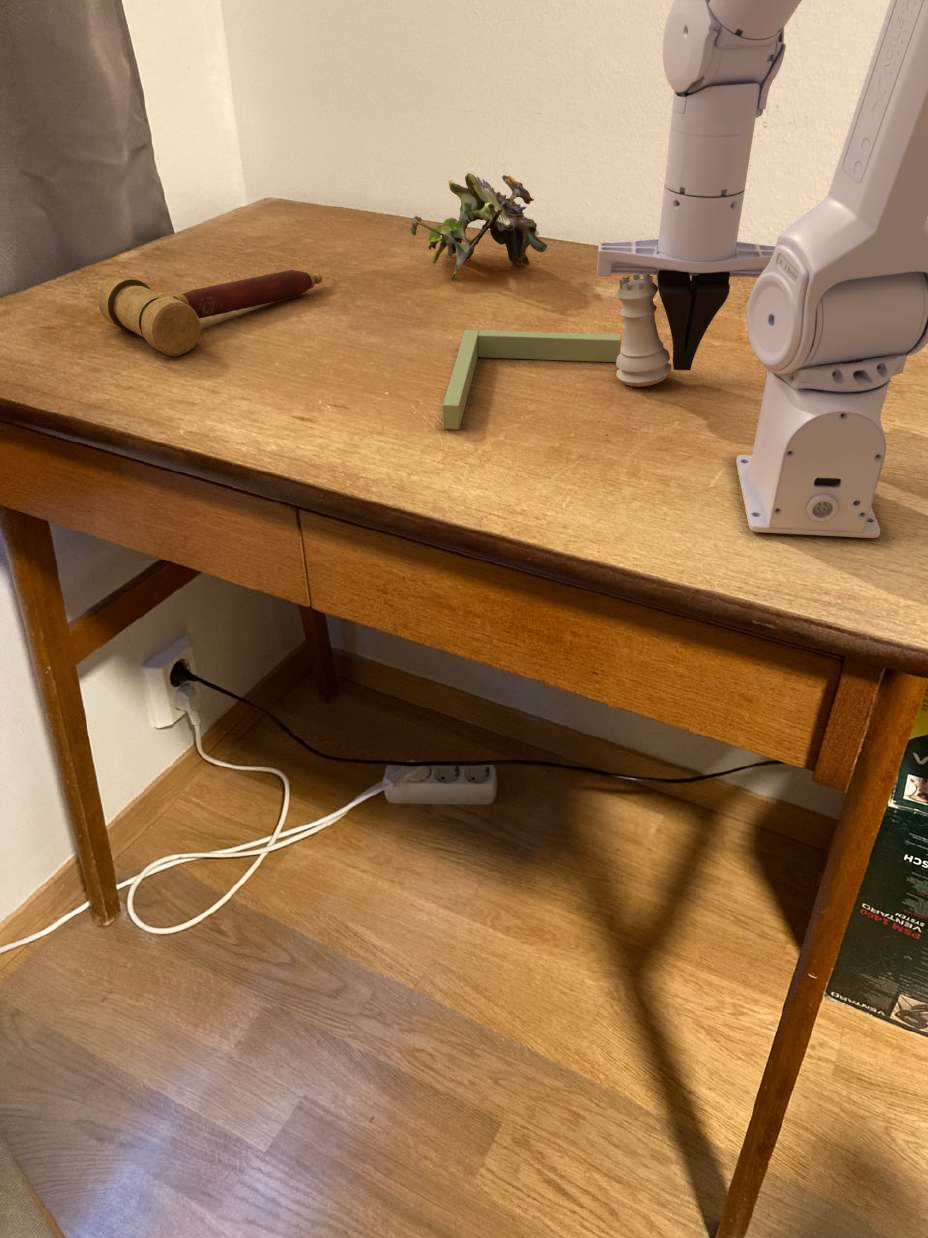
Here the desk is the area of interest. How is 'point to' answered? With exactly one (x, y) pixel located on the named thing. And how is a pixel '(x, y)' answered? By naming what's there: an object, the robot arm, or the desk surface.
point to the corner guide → (519, 357)
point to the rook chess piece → (640, 334)
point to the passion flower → (499, 218)
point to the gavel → (191, 305)
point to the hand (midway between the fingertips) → (681, 365)
